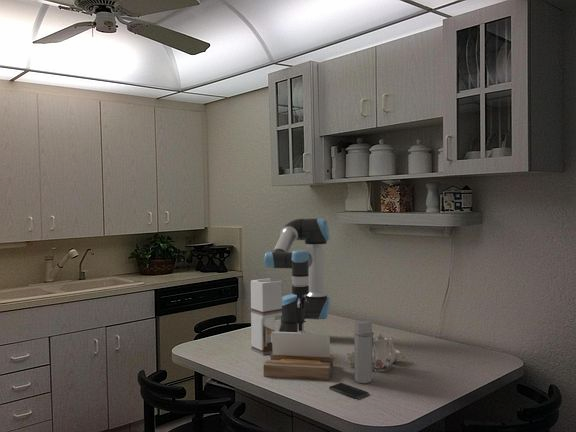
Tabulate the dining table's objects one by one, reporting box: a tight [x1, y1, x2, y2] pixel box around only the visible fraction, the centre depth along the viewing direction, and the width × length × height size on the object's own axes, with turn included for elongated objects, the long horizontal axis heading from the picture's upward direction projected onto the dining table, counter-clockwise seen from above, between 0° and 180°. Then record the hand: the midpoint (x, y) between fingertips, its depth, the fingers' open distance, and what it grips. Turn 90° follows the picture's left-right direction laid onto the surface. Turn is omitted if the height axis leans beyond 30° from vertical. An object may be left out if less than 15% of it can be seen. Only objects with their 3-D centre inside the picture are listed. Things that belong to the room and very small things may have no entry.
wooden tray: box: [263, 352, 334, 381], centre depth 226 cm, size 18×28×5 cm, turn 79°
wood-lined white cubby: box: [250, 278, 283, 356], centre depth 256 cm, size 11×11×35 cm
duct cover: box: [271, 331, 331, 357], centre depth 230 cm, size 11×26×1 cm
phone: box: [328, 382, 370, 400], centre depth 202 cm, size 8×1×15 cm
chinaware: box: [344, 332, 405, 372], centre depth 231 cm, size 28×17×17 cm, turn 111°
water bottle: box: [353, 319, 376, 384], centre depth 213 cm, size 9×8×25 cm
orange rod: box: [281, 359, 320, 362], centre depth 229 cm, size 3×19×3 cm, turn 79°
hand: (300, 337), depth 230 cm, fingers closed
